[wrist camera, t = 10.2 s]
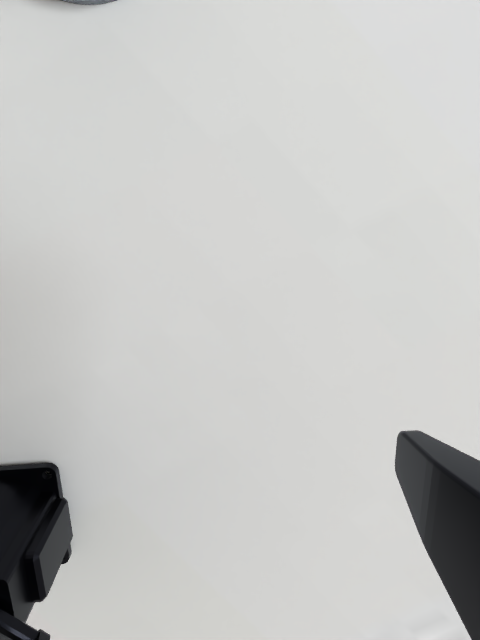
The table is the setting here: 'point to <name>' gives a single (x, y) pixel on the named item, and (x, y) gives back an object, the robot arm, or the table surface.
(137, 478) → the table surface
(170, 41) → the table surface
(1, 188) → the table surface
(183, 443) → the table surface
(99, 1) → the disc
